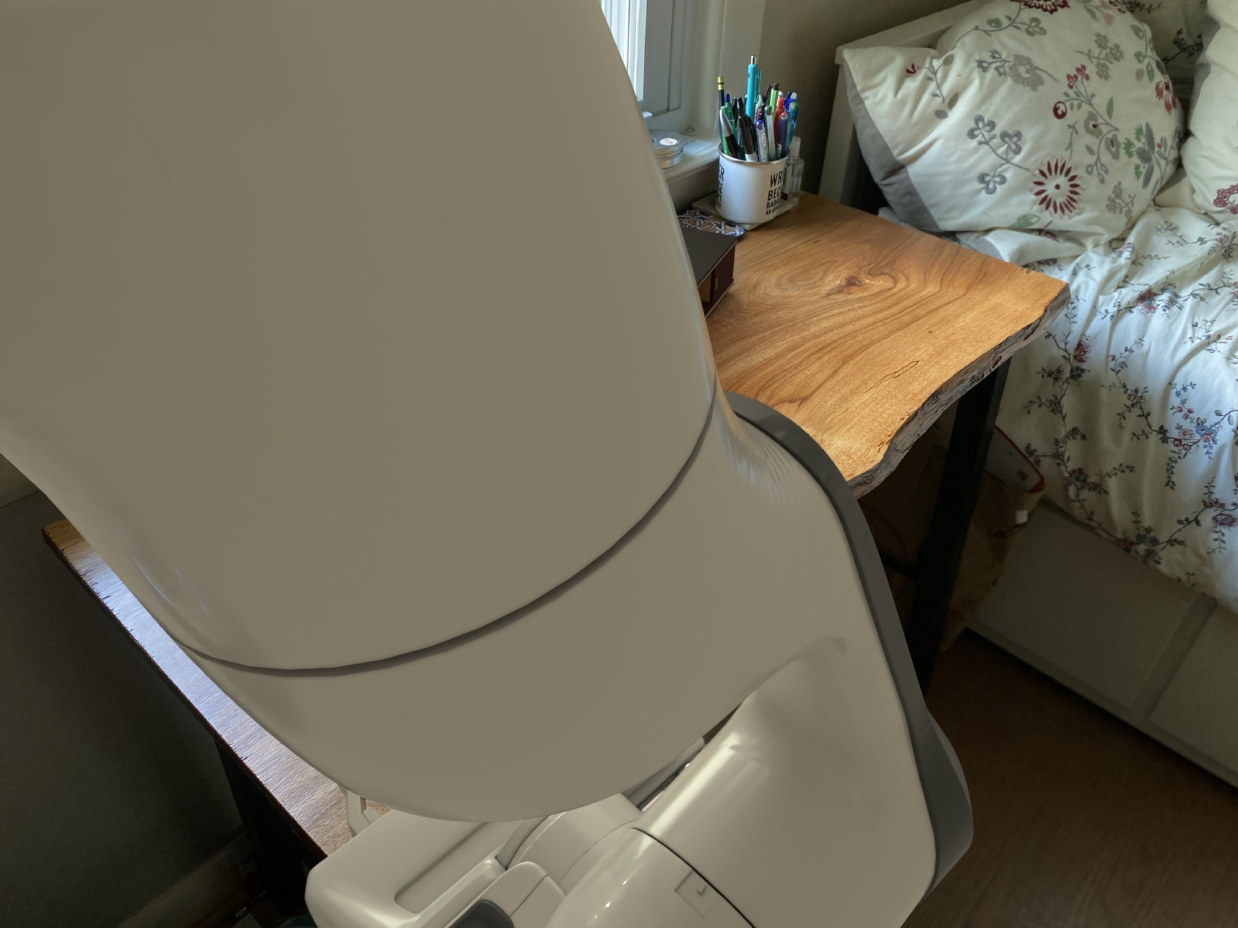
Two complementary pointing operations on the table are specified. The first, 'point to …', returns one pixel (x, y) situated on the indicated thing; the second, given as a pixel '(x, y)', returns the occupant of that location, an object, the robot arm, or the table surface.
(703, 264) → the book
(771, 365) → the table surface
